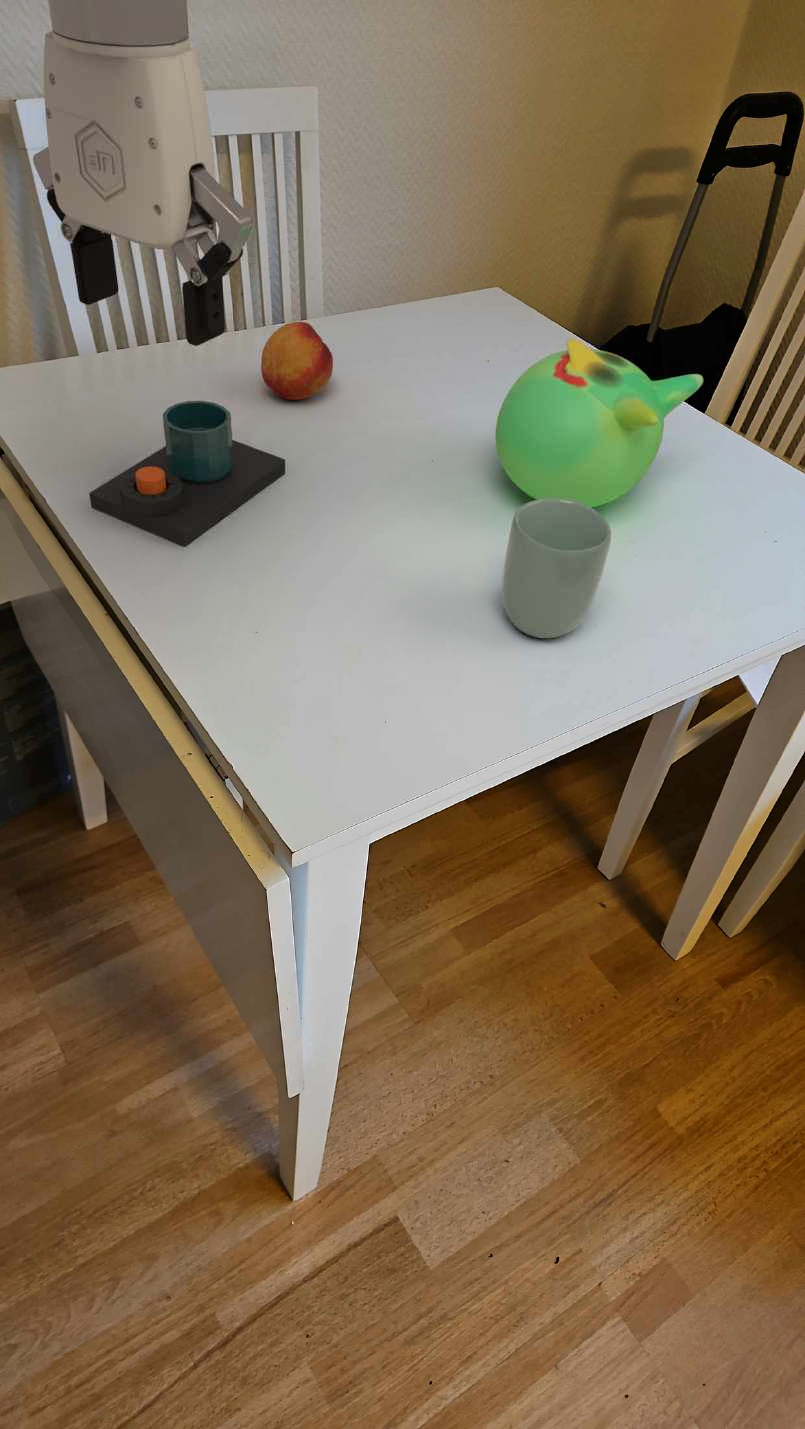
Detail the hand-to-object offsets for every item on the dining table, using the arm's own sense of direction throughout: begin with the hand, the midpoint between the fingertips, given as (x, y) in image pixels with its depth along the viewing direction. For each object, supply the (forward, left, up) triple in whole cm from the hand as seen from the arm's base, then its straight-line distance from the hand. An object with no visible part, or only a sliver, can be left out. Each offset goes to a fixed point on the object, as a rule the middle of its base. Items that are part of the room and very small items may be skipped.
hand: (151, 318), depth 66 cm
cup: (+30, -8, -24) cm, 39 cm away
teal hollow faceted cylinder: (+3, +17, -22) cm, 28 cm away
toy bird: (+40, +12, -24) cm, 48 cm away
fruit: (+15, +35, -24) cm, 45 cm away
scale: (+2, +16, -23) cm, 28 cm away
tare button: (-2, +12, -21) cm, 24 cm away
